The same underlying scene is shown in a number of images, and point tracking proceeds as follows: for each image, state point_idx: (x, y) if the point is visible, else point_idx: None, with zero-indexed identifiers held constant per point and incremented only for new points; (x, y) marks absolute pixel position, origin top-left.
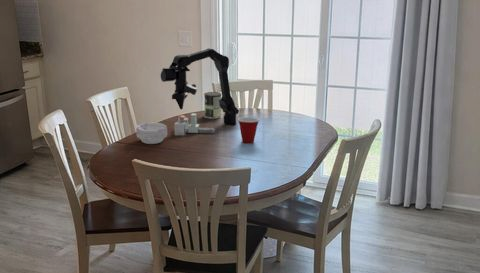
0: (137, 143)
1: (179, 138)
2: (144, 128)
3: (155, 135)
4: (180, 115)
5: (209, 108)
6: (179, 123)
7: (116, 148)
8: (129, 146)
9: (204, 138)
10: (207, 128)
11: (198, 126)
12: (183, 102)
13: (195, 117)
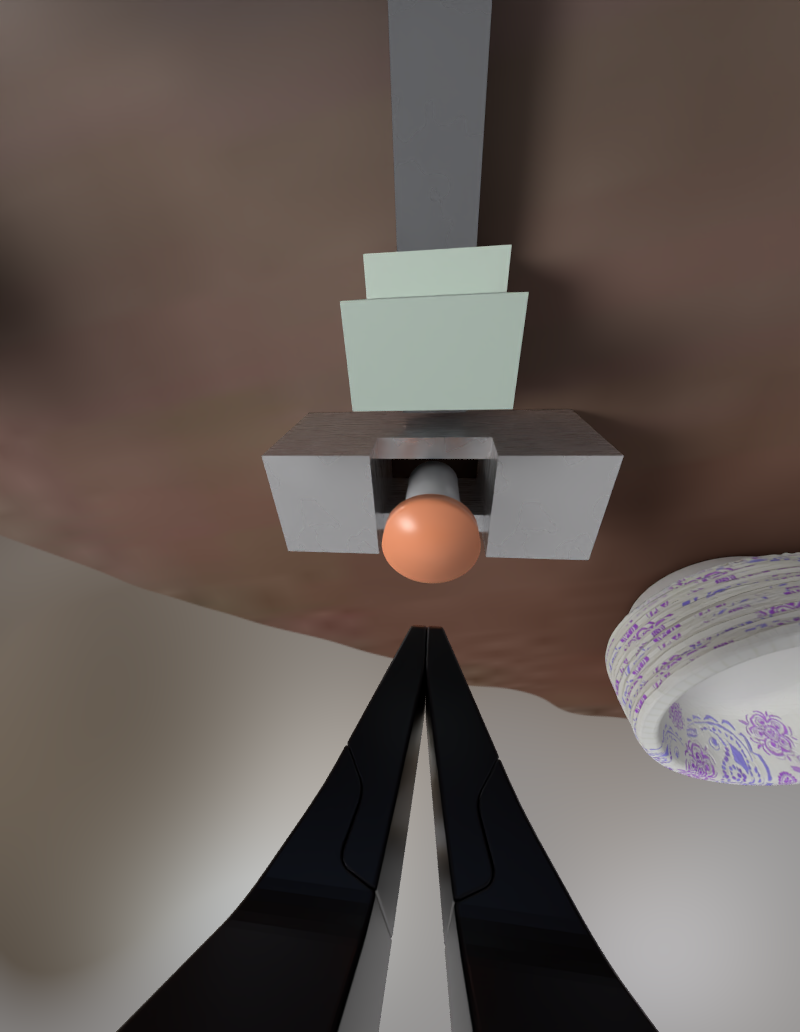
0: None
1: (673, 434)
2: (677, 722)
3: None
4: (389, 563)
5: None
6: (560, 515)
7: None
8: None
9: (780, 53)
10: (409, 63)
11: (430, 251)
12: (403, 772)
13: (492, 293)
